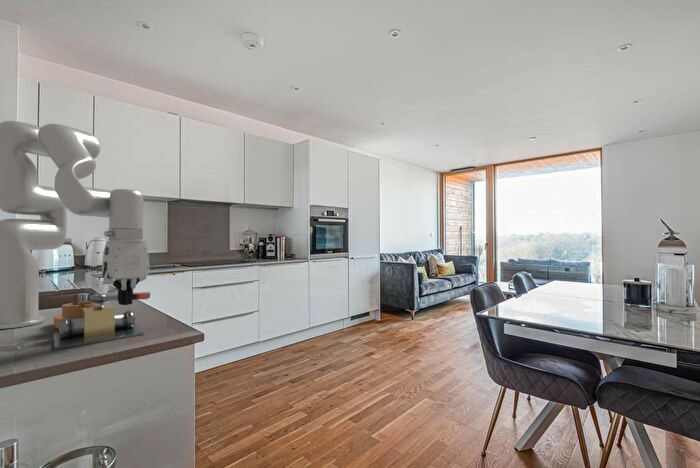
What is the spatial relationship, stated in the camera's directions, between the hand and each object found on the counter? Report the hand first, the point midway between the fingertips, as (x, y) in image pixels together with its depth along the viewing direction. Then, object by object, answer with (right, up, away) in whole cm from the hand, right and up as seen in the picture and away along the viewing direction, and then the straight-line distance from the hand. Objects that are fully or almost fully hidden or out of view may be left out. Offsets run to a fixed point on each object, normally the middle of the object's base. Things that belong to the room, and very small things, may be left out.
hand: (125, 304), depth 89 cm
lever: (-3, +1, +3) cm, 4 cm away
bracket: (-20, -8, +8) cm, 23 cm away
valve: (-8, -8, +1) cm, 12 cm away
